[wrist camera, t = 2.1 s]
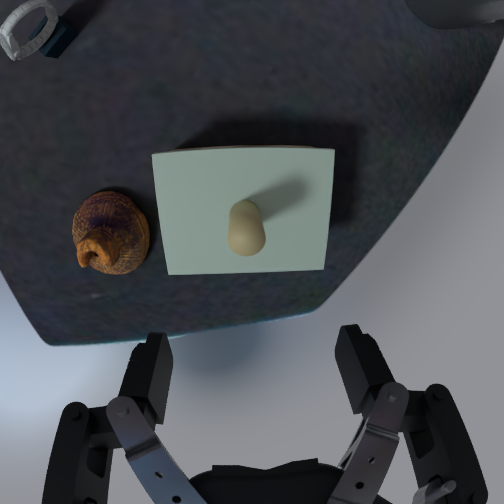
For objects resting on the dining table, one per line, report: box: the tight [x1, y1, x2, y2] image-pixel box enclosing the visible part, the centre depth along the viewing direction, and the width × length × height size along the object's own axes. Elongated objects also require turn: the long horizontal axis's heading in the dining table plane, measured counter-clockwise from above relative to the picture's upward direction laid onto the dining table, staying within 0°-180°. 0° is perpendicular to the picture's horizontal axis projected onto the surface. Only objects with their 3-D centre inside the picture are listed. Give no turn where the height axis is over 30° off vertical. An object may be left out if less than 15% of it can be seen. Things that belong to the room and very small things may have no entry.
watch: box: [0, 0, 78, 61], centre depth 15 cm, size 6×8×11 cm
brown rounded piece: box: [73, 191, 150, 274], centre depth 31 cm, size 12×12×7 cm
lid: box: [152, 147, 335, 275], centre depth 25 cm, size 17×13×6 cm
